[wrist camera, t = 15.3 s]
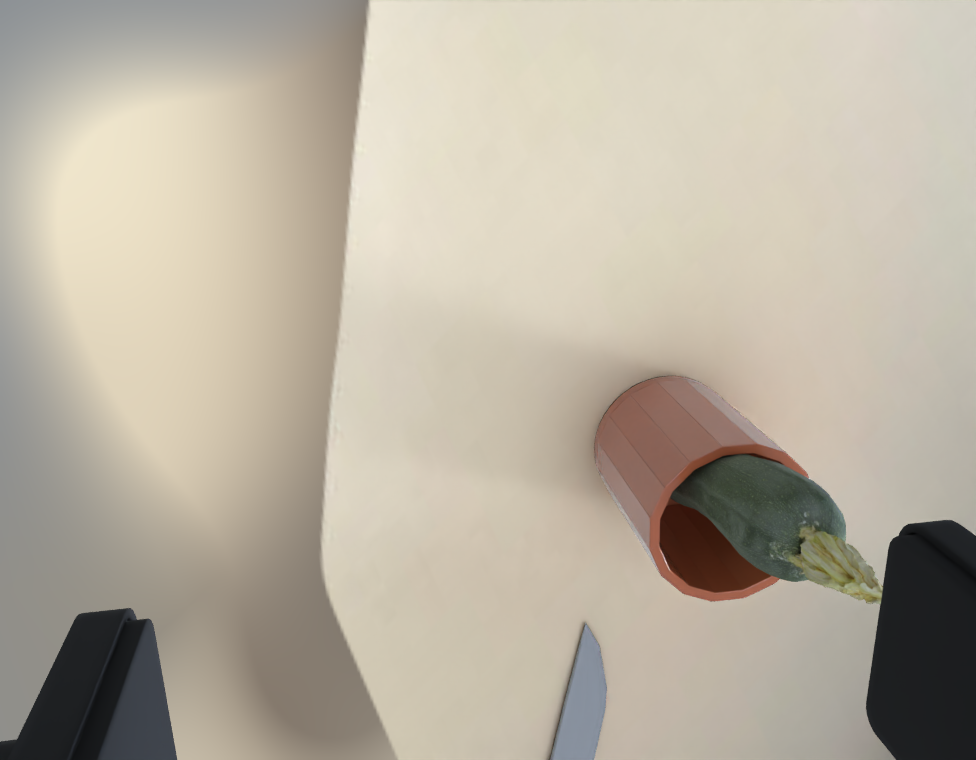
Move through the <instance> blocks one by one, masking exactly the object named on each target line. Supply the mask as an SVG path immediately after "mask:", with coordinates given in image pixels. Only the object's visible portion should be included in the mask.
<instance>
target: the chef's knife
mask: <svg viewBox="0 0 976 760" xmlns="http://www.w3.org/2000/svg"><path fill="white" fill-rule="evenodd" d="M606 692H607V686H606V681H605V675H604V669H603V663H602V658H601V652H600V647H599V644H598V643H597V641H596V639H595V638H594V636H593V634H592V633H591V631H590V629H589V628H588V626H587V624H586V623H585V627H584V630H583V634H582V637H581V641H580V644H579V648H578V652H577V656H576V660H575V663H574V667H573V671H572V675H571V679H570V682H569V686H568V690H567V694H566V698H565V702H564V706H563V710H562V714H561V718H560V722H559V726H558V730H557V734H556V739H555V743H554V747H553V751H552V755H551V759H550V760H594V757H595V753H596V748H597V744H598V740H599V735H600V731H601V726H602V722H603V717H604V713H605V706H606Z"/></svg>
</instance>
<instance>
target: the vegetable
mask: <svg viewBox="0 0 976 760" xmlns="http://www.w3.org/2000/svg"><path fill="white" fill-rule="evenodd" d="M670 498H671V499H672V500H674V501H675V502H677V503H679V504H682V505H684V506H687V507H690V508H693V509H695V510H697V511H699V512H700V513H701V514H703V515H704V516H706V517H707V518H708V519H709V520H710V521H712V523H713V524H714V525H715V526H716V528H717V529H718V530H719V531H720V532H721V533H722V534H723V535H724V536H725V537H726V539H727V540H728V541H729V542H730V543H731V544H732V546H733V547H734V548H735V549H736V551H737V552H738V553H739V554H740V555H741V556H742V557H744V558H745V559H746V560H747V561H748V562H749V563H751V564H752V565H753V566H755V567H756V568H758V569H759V570H761V571H763V572H765V573H767V574H769V575H771V576H774V577H777V578H780V579H783V580H787V581H792V582H798V581H805V580H810V581H813V582H815V583H817V584H820V585H823V586H824V587H829V588H832V589H835V590H836V591H839V592H842V593H845V594H848V595H850V596H852V597H854V598H856V599H858V600H863V599H865V601H866V603H869V604H871V603H872V604H873V603H876V604H880V605H881V598H882V591H883V586H882V585H881V584H880V583H879V581H878V579H877V578H875V576H874V575H875V572H874V571H873V569H872V567H871V566H869V565H868V564H867V562H866V561H865V560H864V559H863V558H862V557H861V555H860V554H859V552H858V551H857V550H856V549H855V548H854V547H853V546H851V545H849V544H847V543H845V540H846V525H845V520H844V517H843V514H842V513H841V511H840V510H839V508H838V507H837V505H836V504H835V502H834V501H833V500H832V498H831V497H830V496H829V494H828V493H827V492H826V491H825V490H824V489H822V488H821V487H820V486H819V485H818V484H816V483H815V482H814V481H812V480H811V479H809V478H807V477H805V476H803V475H802V474H800V473H798V472H796V471H794V470H792V469H790V468H788V467H786V466H784V465H782V464H779V463H777V462H773V461H770V460H766V459H761V458H758V457H754V456H751V455H748V454H738V455H727V456H722V457H720V458H718V459H716V460H714V461H712V462H710V463H708V464H705V465H703V466H701V467H699V468H697V469H695V470H694V471H693V472H692V473H691V474H690V475H689V476H688V477H687V478H686V479H685V480H684V481H683V482H682V483H681V484H680V485H679V486H678V487H677V488H676V489H675V490H674V491H673V492H672V494H671V496H670Z"/></svg>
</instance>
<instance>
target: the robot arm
mask: <svg viewBox="0 0 976 760" xmlns="http://www.w3.org/2000/svg"><path fill="white" fill-rule="evenodd" d="M866 710H867V716H868V720H869V723H870V725H871V727H872V729H873V731H874V732H875V734H876V735H877V737H878V738H879V739H880V740H881V742H882V743H883V744H884V745H885V746H886V748H887V749H888V750H889V751H890V753H891V754H892V755H893V756H894V757H895V759H896V760H976V536H975V535H974V534H972V533H971V532H970V531H968V530H967V529H965V528H964V527H963V526H961V525H960V524H958V523H956V522H954V521H952V520H942V521H933V522H923V523H914V524H908V525H906V526H904V527H903V529H902V530H901V531H900V533H899V536H897V537H895V538H893V539H892V541H891V542H890V545H889V549H888V556H887V563H886V570H885V577H884V584H883V591H882V598H881V605H880V611H879V618H878V625H877V632H876V639H875V646H874V653H873V660H872V667H871V674H870V680H869V687H868V694H867V701H866ZM0 760H177V756H176V751H175V745H174V739H173V733H172V727H171V722H170V716H169V711H168V705H167V699H166V693H165V688H164V682H163V676H162V671H161V665H160V659H159V654H158V648H157V642H156V637H155V631H154V627H153V623H152V621H151V620H150V619H142V620H137V619H136V616H135V614H134V611H133V610H132V609H131V608H126V609H117V610H108V611H99V612H89V613H82V614H79V615H78V616H77V617H76V619H75V620H74V622H73V624H72V626H71V628H70V631H69V633H68V635H67V637H66V639H65V641H64V643H63V645H62V647H61V649H60V651H59V653H58V655H57V658H56V660H55V662H54V664H53V666H52V668H51V670H50V672H49V674H48V676H47V678H46V680H45V683H44V685H43V687H42V689H41V691H40V694H39V695H38V697H37V699H36V701H35V703H34V705H33V708H32V710H31V712H30V714H29V716H28V718H27V720H26V722H25V724H24V727H23V729H22V730H21V732H20V735H19V737H18V739H17V740H10V741H2V742H0Z"/></svg>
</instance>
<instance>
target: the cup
mask: <svg viewBox="0 0 976 760" xmlns="http://www.w3.org/2000/svg"><path fill="white" fill-rule="evenodd" d="M594 453H595V462H596V466H597V469H598V472H599V475H600V476H601V478H602V480H603V482H604V483H605V486H606V488H607V490H608V492H609V493H610V495H611V497H612V498H613V500H614V501H615V503H616V505H617V506H618V508H619V509H620V511H621V513H622V514H623V516H624V517H625V519H626V520H627V522H628V524H629V525H630V527H631V528H632V530H633V532H634V533H635V535H636V536H637V538H638V540H639V541H640V543H641V544H642V546H643V548H644V549H645V551H646V552H647V554H648V556H649V557H650V559H651V560H652V562H653V564H654V565H655V567H656V568H657V570H658V572H659V573H660V574H661V576H662V577H663V578H665V579H666V580H667V581H668V582H669V583H671V584H672V585H673V586H674V587H676V588H677V589H678V590H679V591H680V592H682V593H683V594H686V595H689V596H693V597H697V598H701V599H705V600H708V601H722V600H731V599H740V598H744V597H748V596H750V595H752V594H754V593H756V592H758V591H760V590H762V589H764V588H766V587H769V586H771V585H773V584H774V583H776V582H777V581H778V580H779V579H780V578H777V577H774V576H771V575H769V574H767V573H765V572H763V571H761V570H759V569H758V568H756V567H755V566H753V565H752V564H751V563H749V562H748V561H747V560H746V559H745V558H744V557H742V556H741V555H740V554H739V553H738V552H737V551H736V549H735V548H734V547H733V546H732V544H731V543H730V542H729V541H728V540H727V539H726V537H725V536H724V535H723V534H722V533H721V532H720V531H719V530H718V529H717V528H716V526H715V525H714V524H713V523H712V521H710V520H709V519H708V518H707V517H706V516H704V515H703V514H701V513H700V512H699V511H697V510H695V509H693V508H690V507H687V506H684V505H682V504H679V503H677V502H675V501H674V500H672V499H671V498H670V496H671V494H672V492H673V491H674V490H675V489H676V488H677V487H678V486H679V485H680V484H681V483H682V482H683V481H684V480H685V479H686V478H687V477H688V476H689V475H690V474H691V473H692V472H693V471H694V470H695V469H697V468H699V467H701V466H703V465H705V464H708V463H710V462H712V461H714V460H716V459H718V458H720V457H722V456H727V455H738V454H748V455H751V456H754V457H758V458H761V459H766V460H770V461H773V462H777V463H779V464H782V465H784V466H786V467H788V468H790V469H792V470H794V471H796V472H798V473H800V474H802V475H803V476H805V477H807V478H809V477H808V474H807V472H806V471H805V470H804V469H803V468H802V467H800V466H799V465H798V464H797V463H796V462H795V461H794V460H793V459H792V458H791V457H790V456H789V455H788V454H787V453H786V452H785V451H783V450H782V449H781V448H780V447H779V446H778V445H776V444H775V443H774V442H773V441H772V440H771V439H769V438H768V437H767V436H766V435H765V434H764V433H762V432H761V431H760V430H759V429H758V428H757V427H755V426H754V425H753V424H752V423H751V422H750V421H748V420H747V419H746V418H745V417H744V416H742V415H741V414H740V413H739V412H738V411H737V410H735V409H734V408H733V407H732V406H731V405H730V404H728V403H727V402H726V401H725V400H724V399H723V398H721V397H720V396H719V395H718V394H717V393H716V392H714V391H713V390H712V389H710V388H709V387H707V386H705V385H704V384H702V383H700V382H698V381H696V380H693V379H690V378H686V377H679V376H664V377H657V378H653V379H650V380H646V381H644V382H641V383H639V384H637V385H635V386H634V387H632V388H630V389H629V390H627V391H626V392H624V393H623V394H622V395H621V396H620V397H619V398H618V399H616V400H615V402H614V403H613V404H612V405H611V406H610V407H609V409H608V410H607V412H606V413H605V415H604V417H603V419H602V421H601V423H600V425H599V428H598V430H597V434H596V439H595V447H594Z"/></svg>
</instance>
